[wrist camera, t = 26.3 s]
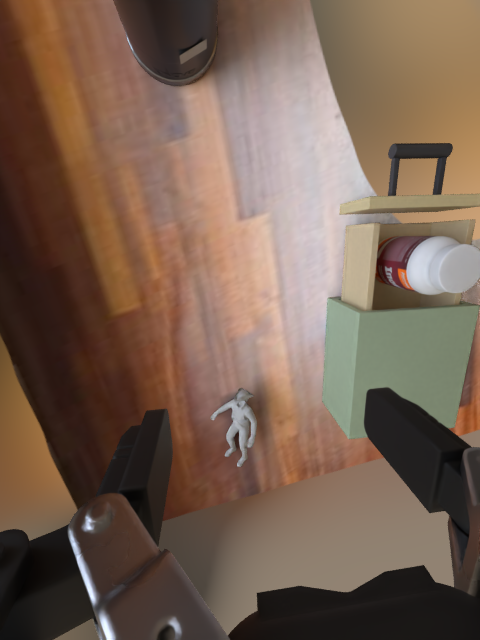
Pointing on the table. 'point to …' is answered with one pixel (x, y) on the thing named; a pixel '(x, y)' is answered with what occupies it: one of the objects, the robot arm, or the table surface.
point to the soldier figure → (240, 423)
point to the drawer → (400, 234)
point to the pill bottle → (427, 264)
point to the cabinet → (396, 358)
